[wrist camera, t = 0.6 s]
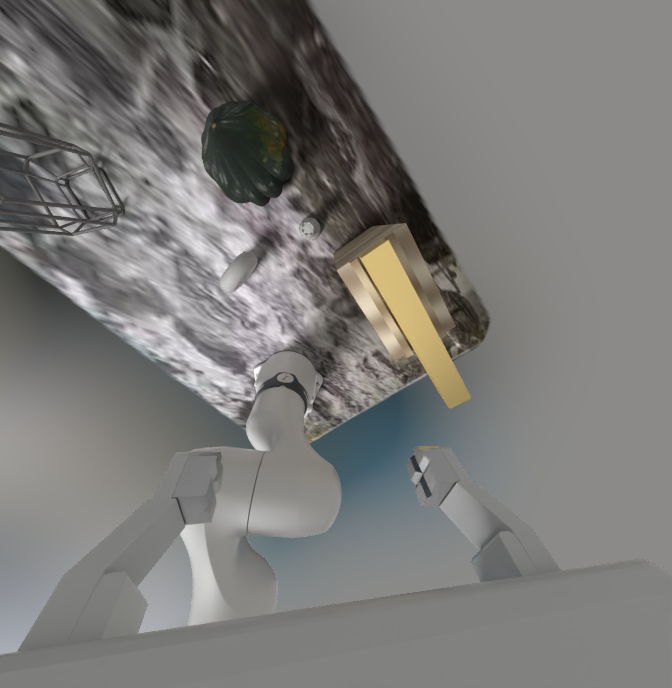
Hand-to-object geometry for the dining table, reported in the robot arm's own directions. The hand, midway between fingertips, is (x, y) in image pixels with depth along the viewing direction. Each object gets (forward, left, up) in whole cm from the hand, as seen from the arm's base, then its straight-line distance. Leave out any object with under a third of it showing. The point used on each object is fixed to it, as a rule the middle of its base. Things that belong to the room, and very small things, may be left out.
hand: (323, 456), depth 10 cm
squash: (+17, +17, -52) cm, 57 cm away
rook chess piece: (+8, +5, -52) cm, 53 cm away
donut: (-3, +18, -52) cm, 55 cm away
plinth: (+2, -10, -51) cm, 52 cm away
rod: (-1, -13, -25) cm, 29 cm away
